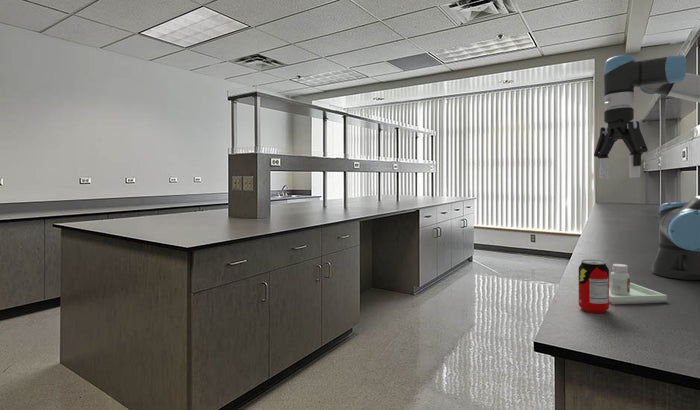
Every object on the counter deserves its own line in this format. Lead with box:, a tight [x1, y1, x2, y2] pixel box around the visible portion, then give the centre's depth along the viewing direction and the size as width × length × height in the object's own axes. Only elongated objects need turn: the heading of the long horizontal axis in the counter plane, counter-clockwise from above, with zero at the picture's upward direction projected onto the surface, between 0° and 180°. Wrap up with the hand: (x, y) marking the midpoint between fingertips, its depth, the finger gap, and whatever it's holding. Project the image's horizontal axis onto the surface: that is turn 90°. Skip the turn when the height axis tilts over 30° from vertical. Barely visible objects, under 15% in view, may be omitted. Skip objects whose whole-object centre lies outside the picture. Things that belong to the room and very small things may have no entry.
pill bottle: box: [609, 263, 631, 295], centre depth 108 cm, size 4×4×8 cm
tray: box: [609, 281, 668, 305], centre depth 108 cm, size 14×14×2 cm
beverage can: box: [578, 259, 610, 314], centre depth 97 cm, size 6×6×12 cm
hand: (618, 178), depth 123 cm, fingers open, 13 cm apart
